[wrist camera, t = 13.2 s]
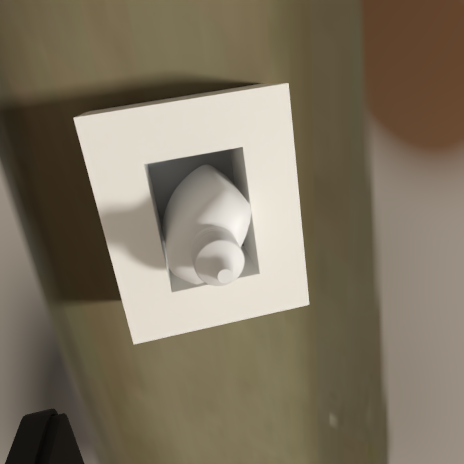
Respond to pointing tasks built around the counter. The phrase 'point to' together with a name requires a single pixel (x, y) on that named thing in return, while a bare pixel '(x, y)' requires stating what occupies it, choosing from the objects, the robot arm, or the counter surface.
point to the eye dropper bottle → (206, 228)
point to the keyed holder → (167, 180)
